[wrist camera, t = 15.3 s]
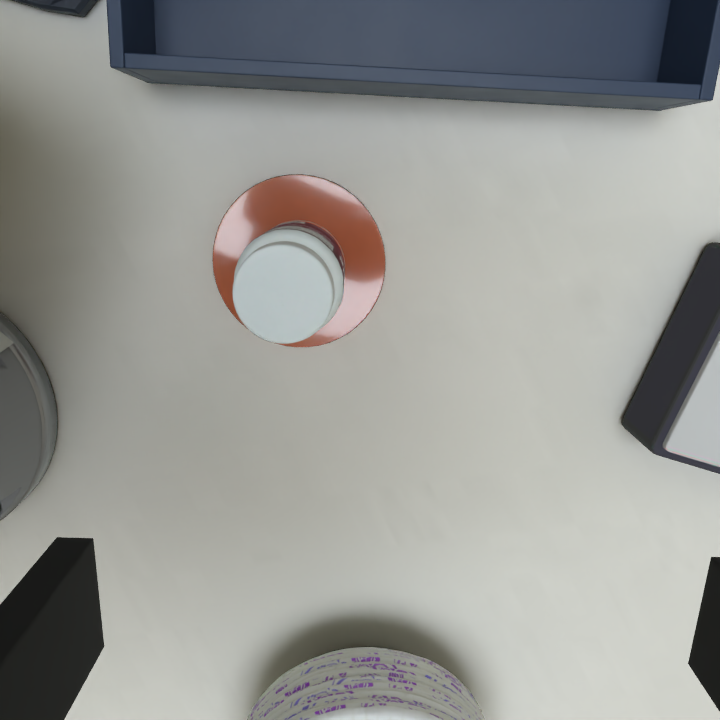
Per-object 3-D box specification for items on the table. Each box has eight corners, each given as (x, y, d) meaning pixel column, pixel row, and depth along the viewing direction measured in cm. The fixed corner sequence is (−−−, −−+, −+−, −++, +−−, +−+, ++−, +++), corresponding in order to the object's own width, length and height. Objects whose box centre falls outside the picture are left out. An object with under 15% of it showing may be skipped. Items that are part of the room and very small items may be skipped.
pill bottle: (327, 323, 34) (317, 371, 26) (242, 290, 33) (206, 328, 25) (360, 239, 33) (361, 262, 25) (272, 204, 32) (244, 216, 24)
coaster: (215, 341, 35) (213, 343, 34) (212, 169, 32) (210, 169, 32) (380, 349, 35) (380, 351, 34) (390, 179, 32) (390, 179, 32)
